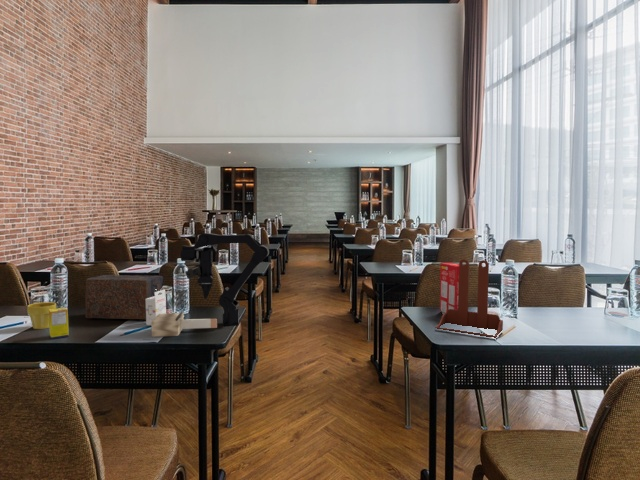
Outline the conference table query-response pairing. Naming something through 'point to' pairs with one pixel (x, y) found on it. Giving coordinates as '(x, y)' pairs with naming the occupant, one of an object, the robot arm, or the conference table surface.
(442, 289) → the food packaging
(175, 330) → the tan box with rod
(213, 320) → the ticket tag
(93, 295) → the decorative box
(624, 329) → the conference table surface
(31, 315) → the plant pot
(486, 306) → the hanging shelf
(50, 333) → the supplement box
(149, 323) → the ink cartridge box
